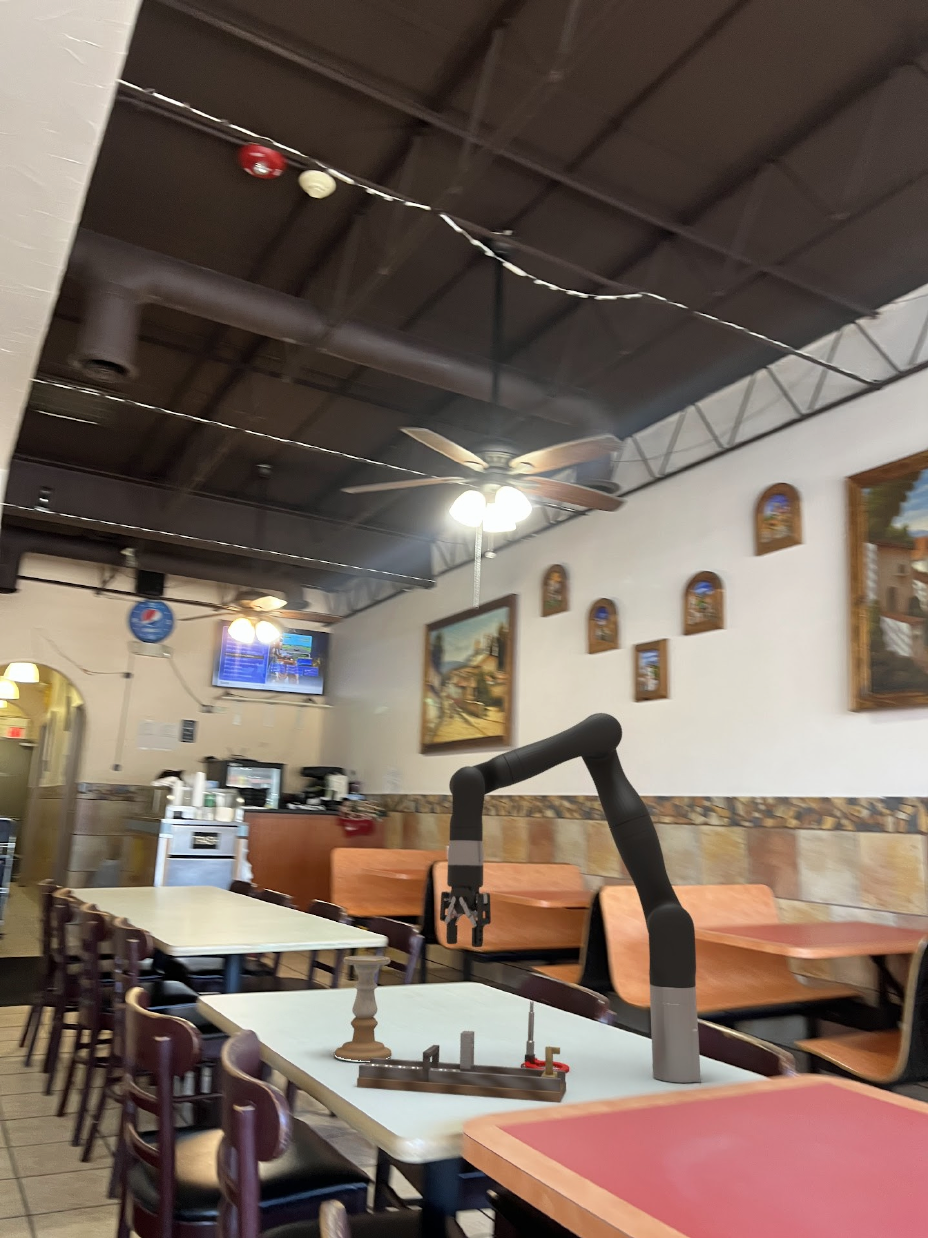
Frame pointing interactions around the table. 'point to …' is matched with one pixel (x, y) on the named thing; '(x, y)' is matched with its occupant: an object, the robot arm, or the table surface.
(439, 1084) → the track
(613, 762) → the robot arm
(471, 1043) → the grey l-shaped slider bar
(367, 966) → the candle holder
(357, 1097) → the table surface
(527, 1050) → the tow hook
